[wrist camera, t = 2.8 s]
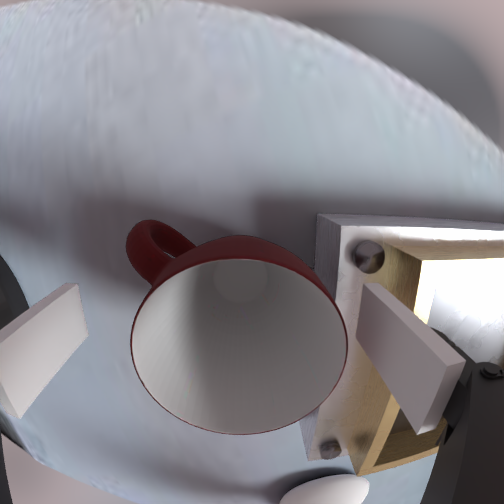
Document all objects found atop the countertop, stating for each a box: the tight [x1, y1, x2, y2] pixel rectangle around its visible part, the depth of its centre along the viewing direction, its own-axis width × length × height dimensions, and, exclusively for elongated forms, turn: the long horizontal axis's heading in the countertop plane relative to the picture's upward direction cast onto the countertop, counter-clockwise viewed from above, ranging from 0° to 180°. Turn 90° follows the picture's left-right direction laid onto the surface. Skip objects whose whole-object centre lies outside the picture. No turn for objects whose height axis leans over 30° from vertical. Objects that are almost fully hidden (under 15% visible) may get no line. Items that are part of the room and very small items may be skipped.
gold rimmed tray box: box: [299, 214, 504, 477], centre depth 17 cm, size 28×18×8 cm, turn 90°
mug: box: [126, 220, 348, 435], centre depth 15 cm, size 11×8×10 cm
